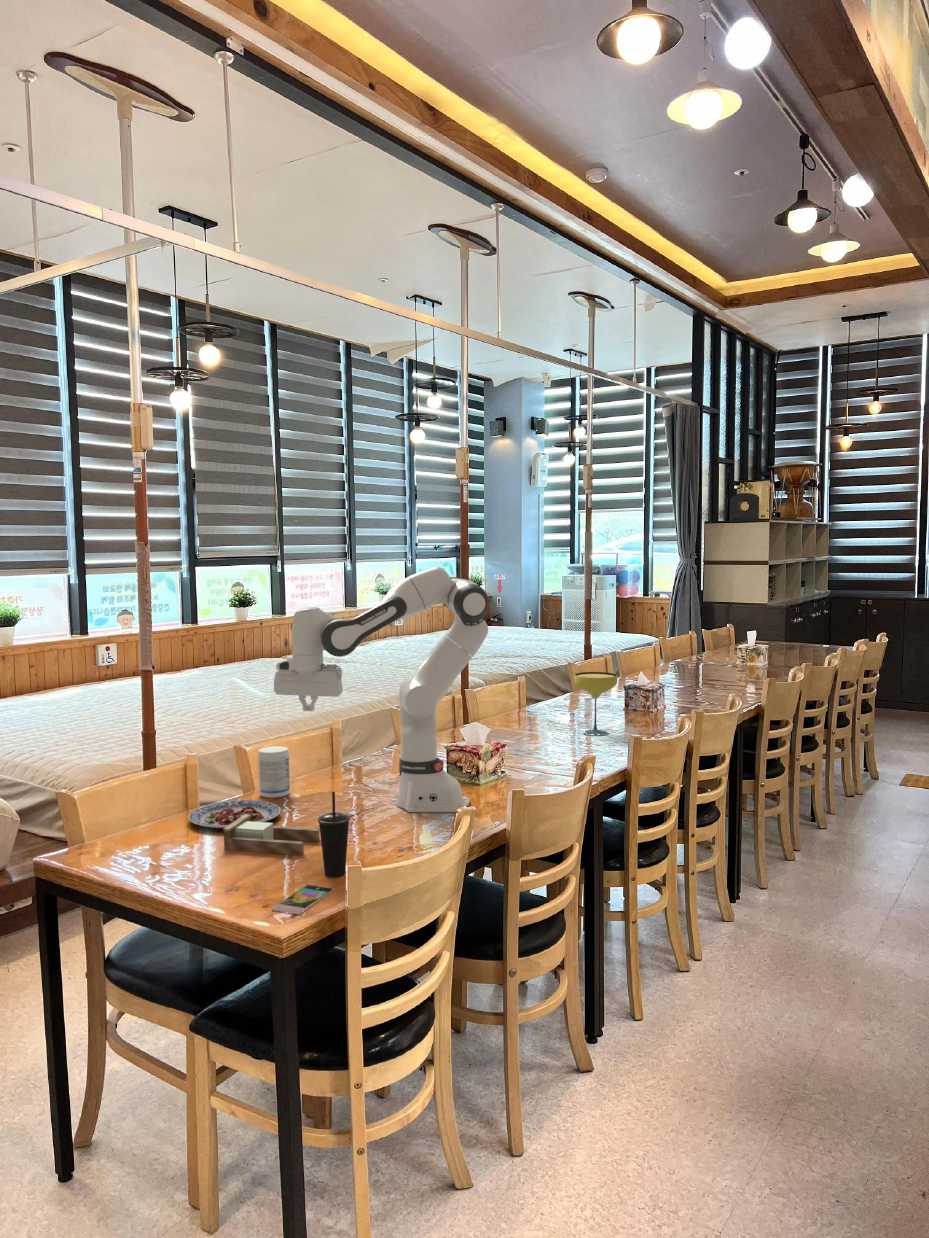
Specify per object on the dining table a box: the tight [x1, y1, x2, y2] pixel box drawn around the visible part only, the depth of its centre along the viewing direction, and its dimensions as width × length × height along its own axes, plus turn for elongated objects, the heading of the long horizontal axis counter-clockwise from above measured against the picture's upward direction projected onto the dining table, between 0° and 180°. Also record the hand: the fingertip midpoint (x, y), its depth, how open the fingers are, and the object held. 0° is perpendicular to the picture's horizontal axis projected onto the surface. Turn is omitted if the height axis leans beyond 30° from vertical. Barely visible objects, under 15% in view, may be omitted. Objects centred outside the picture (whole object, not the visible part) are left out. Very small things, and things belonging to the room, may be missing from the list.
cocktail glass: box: [573, 671, 618, 735], centre depth 364 cm, size 18×18×25 cm
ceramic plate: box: [188, 799, 282, 829], centre depth 250 cm, size 26×26×3 cm
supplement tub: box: [257, 745, 291, 799], centre depth 275 cm, size 10×10×15 cm
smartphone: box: [271, 884, 335, 914], centre depth 192 cm, size 7×1×15 cm
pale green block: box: [235, 821, 274, 840], centre depth 229 cm, size 8×7×5 cm
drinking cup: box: [317, 791, 351, 878], centre depth 206 cm, size 8×8×20 cm
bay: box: [222, 814, 321, 856], centre depth 228 cm, size 22×12×6 cm, turn 77°
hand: (308, 710), depth 251 cm, fingers closed
